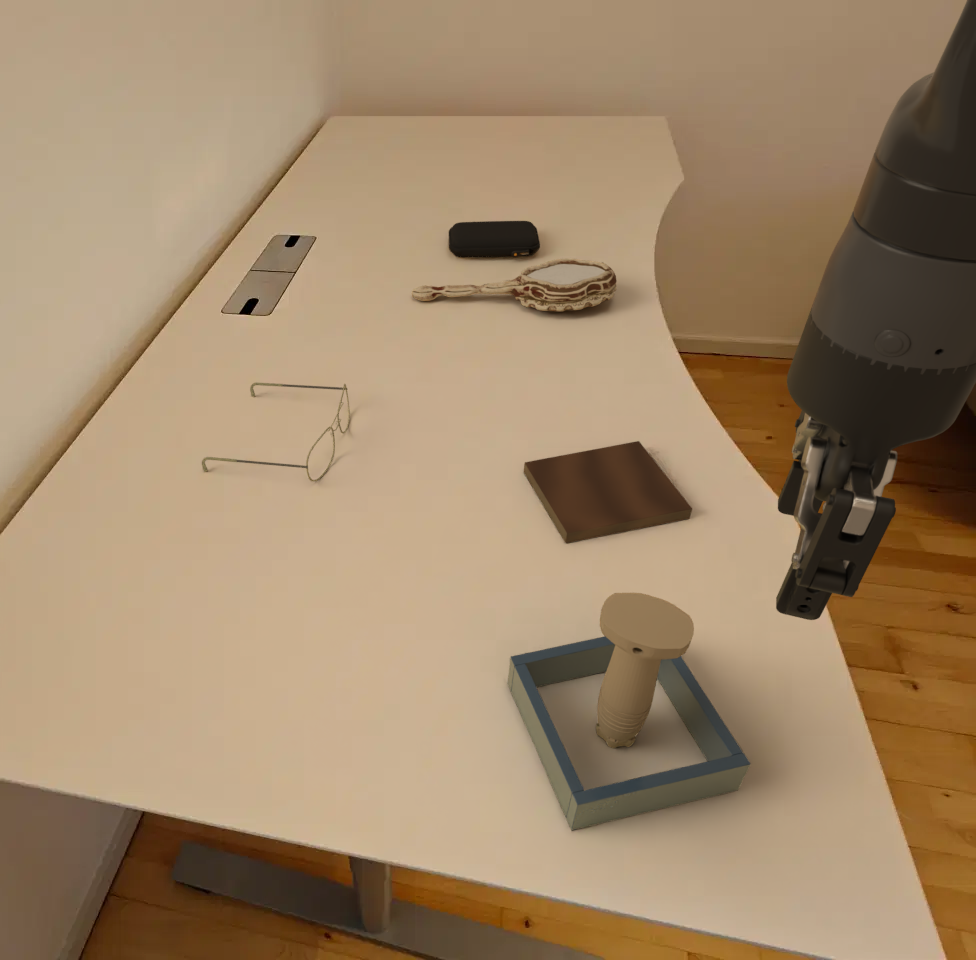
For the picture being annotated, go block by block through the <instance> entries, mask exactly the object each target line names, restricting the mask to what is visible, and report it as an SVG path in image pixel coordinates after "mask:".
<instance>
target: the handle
mask: <svg viewBox="0 0 976 960" xmlns="http://www.w3.org/2000/svg"><path fill="white" fill-rule="evenodd" d="M599 628H600V631H601V633H602V635H603V637H604V636H606V637H607V638H608V639H609V640H610V641H611V642H612V643H614V644H615V648H614V651H613V654H612V657H611V660H610V663H609V666H608V668H607V671H606V672H605V674H604V676H603V679H602V683H601V685H600V690H599V693H598V698H597V700H598V701H597V706H596V707H597V710H596V712H597V713H596V716H597V722H596V725H595V730H596V735H597V736H598V737H600V738H602V739H603V740H604V741H605V742H606V744H607V747H610V748H612V749H616V748H618V747H627V748H628V747H632V746H633V744H634V743H635V741H636V740H637V737H636V736H637V735H638V734H639V733H640V731H641V730H642V729H643V727H644V724H645V722H646V721H647V718H648V716H649V713H650V711H651V707H652V705H653V701H654V695H655V690H656V686H657V685H656V684H657V681H658V678H657V675H658V671H659V667H660V662H661V659H674V658H678V657H680V656H681V657H682V656H683V655H684V654H686V652H687V651H688V649H689V647H690V645H691V642H692V640H693V636H694V632H695V626H694V622H693V618H692V617H691V615H689V614H688V613H687V612H685V611H684V610H683V609H681V608H680V607H678V606H677V605H676V604H673V603H671V602H670V601H668V600H666V599H663V598H659V597H656V596H653V595H650V594H646V593H641V592H613V594H611V595H609V596H608V597H607V598H606V599H605V600H604V602H603V604H602V607H601V611H600V616H599Z"/></svg>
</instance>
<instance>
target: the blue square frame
mask: <svg viewBox="0 0 976 960" xmlns="http://www.w3.org/2000/svg"><path fill="white" fill-rule="evenodd" d="M614 648H615V644H614V643H612V642H611V641H610V640H609V639H608V638H607V637H606V636H604V635H603V636H602V637H596V638H591V639H585V640H581V641H577V642H571V643H567V644H562V645H558V646H553V647H548V648H544V649H543V648H542V649H538V650H535V651H529V652H525V653H519V654H515V655H511V656H510V657H509V665H508V673H507V674H508V675H507V676H508V677H507V682H506V685H507V687H508V688H509V691H510V693H511V695H512V698H513V699H514V702H515V704H516V707H517V709H518V711H519V714H520V717H521V718H522V721H523V723H524V725H525V727H526V730H527V732H528V734H529V736H530V737H529V738H530V739H531V741H532V743H533V746H534V748H535V750H536V752H537V755H538V758H539V759H540V762H541V765H542V766H543V768H544V771H545V773H546V776H547V778H548V780H549V783H550V784H551V787H552V790H553V792H554V794H555V797H556V799H557V801H558V803H559V806H560V808H561V810H562V812H563V815H564V818H565V820H566V821H567V824H568V826H569V828H570V830H571V831H576V830H579V829H583V828H587V827H591V826H597V825H601V824H604V823H608V822H612V821H617V820H621V819H625V818H630V817H633V816H638V815H642V814H645V813H649V812H655V811H658V810H663V809H667V808H671V807H675V806H679V805H683V804H684V805H685V804H688V803H692V802H696V801H700V800H704V799H709V798H713V797H717V796H720V795H725V794H729V793H734V792H737V791H739V789H740V787H741V785H742V783H743V781H744V779H745V777H746V775H747V773H748V772H749V769H750V768H751V765H752V764H751V762H750V760H749V759H748V757H747V755H746V754H745V753H744V751H743V750H742V748H741V746H740V745H739V743H738V742H737V741H736V739H735V737H734V736H733V734H732V732H731V731H730V730H729V727H727V725H726V723H725V721H724V720H723V719H722V718H721V715H720V714H719V712H718V711H717V709H716V707H715V706H714V704H713V703H712V702H711V701H710V700H711V699H709V697H708V696H707V694H706V693H705V691H704V689H703V688H702V686H701V685H700V683H699V681H698V680H697V678H696V677H695V675H694V674H693V672H692V670H691V669H690V668H689V666H688V664H687V662H686V661H685V660H684V658H683V657H682V656H680V657H678V658H674V659H661V662H660V667H659V671H658V675H657V681H658V682H659V683H660V685H661V686H662V687H661V688H663V690H664V692H665V693H666V695H667V697H668V699H669V700H670V702H671V703H672V705H673V706H674V709H675V710H676V711H677V713H678V715H679V717H680V718H681V719H682V722H683V723H684V724H685V726H686V728H687V730H688V731H689V733H690V734H691V736H692V738H693V740H694V741H695V744H696V745H697V746H698V748H699V750H700V751H701V753H702V755H703V757H704V758H705V759H706V761H703V762H699V763H695V764H690V765H685V766H682V767H677V768H674V769H673V768H672V769H669V770H665V771H660V772H657V773H653V774H648V775H645V776H644V775H643V776H639V777H634V778H631V779H627V780H623V781H618V782H614V783H613V782H612V783H610V784H606V785H601V786H597V787H596V786H595V787H592V788H589V789H584V786H583V784H582V782H581V779H580V777H579V775H578V774H577V773H578V772H577V771H576V769H575V767H574V765H573V763H572V761H571V759H570V756H569V755H568V752H567V750H566V747H565V745H564V744H563V743H564V742H563V741H562V738H561V737H560V735H559V733H558V731H557V729H556V726H555V725H554V724H555V723H554V722H553V720H552V717H551V715H550V713H549V711H548V709H547V707H546V705H545V702H544V700H543V698H542V696H541V694H540V691H539V690H538V687H542V686H549V685H552V684H557V683H561V682H565V681H570V680H575V679H580V678H583V677H589V676H593V675H597V674H602V673H606V671H607V668H608V666H609V663H610V660H611V657H612V654H613V651H614Z"/></svg>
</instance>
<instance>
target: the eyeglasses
mask: <svg viewBox="0 0 976 960" xmlns="http://www.w3.org/2000/svg"><path fill="white" fill-rule="evenodd" d="M256 386H263V387H265V386H266V387H280V388H281V387H282V388H283V387H284V388H301V389H302V388H303V389H320V390H321V389H322V390H335V391H336V390H338V391H342V393H341V396H340V400H339V403H338V407H337V413H336V414H335V417H334V419H333V421H332V423H331V425H330V426H328V427H327V428H326V429H324V431H323V432H322V433H321V435H320V436H319V437H318V439H316V441H315V442H314V443H313V445H312V446H311V448H310V449H309V451H308V453H307V456H306V460H305V462H306V463H305V465H303V464H302V465H301V464H290V463H279V462H267V461H258V460H257V461H255V460H243V459H237V458H225V457H213V456H206V457H203V458H202V460H201V467H202V471H203V472H208V471H209V470H208V467H207V465H206V461H218V462H228V463H229V462H230V463H243V464H252V465H253V464H255V465H265V466H278V467H289V468H298V469H299V468H301V469H305V470H306V475H307V478H308V480H309V481H310V482H318V481H319V480H320V479H321V478H322V477H323V476H324V475H325V474H326V473H327V471H328V470H329V468H330V466H331V465H332V462H333V460H334V457H335V452H336V441H335V440H336V439H335V431H337V429H338V428H339V431H340V433H341V434H345V433H346V432H347V431H348V428H349V426H350V420H351V419H350V418H351V411H350V410H351V409H350V401H349V394H348V387H347V385H346V383H344V384H343V386H342V387H339V386H322V385H321V386H319V385H303V384H302V385H301V384H299V385H298V384H285V383H274V382H272V383H271V382H253V383H252V384H251V385H250V387H249V391H250V396H251V397H253V398H255V397H256V393H255V391H254V387H256ZM344 393H345V394H346V401H347V412H348V415H347V416H348V418H347V424H346V428H345V429H344V430H343V429H342V426H341V421H342V418H340V412H341V410H342V408H343V405H344V402H343V398H344ZM336 419H337V420H336ZM334 423H335V425H336V428H335V429H334V428H333V426H334ZM327 432H331V435H332V444H333V445H332V455H331V458H330V460H329V463H328V466H327V467H326V468H325V470H324V471H323V473H322V474H321V475H320V476H318V478H316V479H312V478H311V476H310V473H309V459H310V456H311V453H312V451H313V450H314V448H315V446H316V445H317V444H318V443H319V441H320V440H321V439H322V438H323V436H324V435H325V434H326V433H327Z"/></svg>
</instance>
